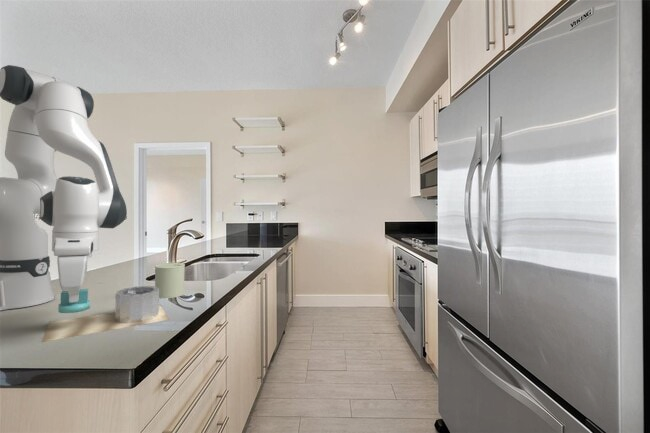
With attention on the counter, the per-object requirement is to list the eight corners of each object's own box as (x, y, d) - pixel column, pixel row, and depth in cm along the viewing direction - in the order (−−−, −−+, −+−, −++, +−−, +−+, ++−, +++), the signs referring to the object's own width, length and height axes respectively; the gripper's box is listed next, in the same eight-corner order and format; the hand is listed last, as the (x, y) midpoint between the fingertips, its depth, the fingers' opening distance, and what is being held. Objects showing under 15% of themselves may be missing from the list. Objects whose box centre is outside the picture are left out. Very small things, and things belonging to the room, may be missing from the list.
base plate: (41, 348, 66) (41, 342, 66) (50, 327, 78) (50, 322, 78) (168, 325, 81) (169, 319, 81) (160, 310, 92) (160, 305, 92)
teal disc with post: (56, 314, 71) (56, 295, 71) (60, 307, 76) (60, 289, 76) (88, 310, 74) (89, 292, 74) (90, 304, 79) (91, 286, 79)
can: (182, 301, 101) (182, 265, 101) (151, 303, 99) (151, 266, 98) (186, 294, 110) (186, 261, 110) (158, 295, 107) (158, 261, 107)
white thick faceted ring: (106, 322, 78) (106, 295, 78) (133, 309, 88) (133, 285, 88) (143, 323, 78) (143, 296, 78) (166, 311, 88) (166, 286, 87)
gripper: (64, 239, 81) (63, 290, 82) (52, 249, 65) (51, 314, 65) (94, 238, 85) (92, 287, 85) (90, 248, 68) (88, 309, 69)
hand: (74, 299), depth 75 cm, fingers closed on teal disc with post, 2 cm apart
